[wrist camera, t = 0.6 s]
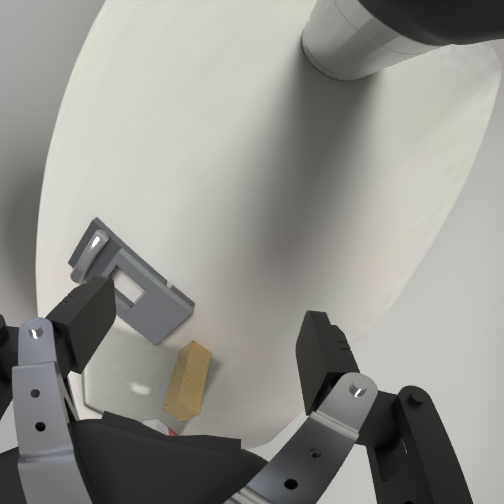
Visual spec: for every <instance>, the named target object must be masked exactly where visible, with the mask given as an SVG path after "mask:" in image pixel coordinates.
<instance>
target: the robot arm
mask: <svg viewBox="0 0 504 504" xmlns="http://www.w3.org/2000/svg"><path fill="white" fill-rule="evenodd" d="M495 39H504V0H317V2H316V4H315V6H314V9H313V11H312V13H311V15H310V17H309V19H308V21H307V23H306V26H305V28H304V30H303V34H302V46H303V49H304V52H305V54H306V56H307V58H308V60H309V61H310V62H311V63H312V64H313V66H314V67H316V68H317V69H318V70H319V71H321V72H322V73H324V74H326V75H327V76H329V77H332V78H335V79H339V80H345V81H347V80H357V79H361V78H363V77H365V76H368V75H370V74H372V73H375V72H377V71H380V70H382V69H384V68H387V67H389V66H392V65H394V64H397V63H399V62H402V61H404V60H407V59H410V58H412V57H415V56H418V55H420V54H423V53H426V52H428V51H431V50H434V49H437V48H440V47H443V46H446V45H449V44H456V45H466V44H474V43H479V42H484V41H489V40H495ZM115 317H116V302H115V289H114V281H113V279H112V278H109V277H104V276H99V275H95V276H94V277H93V278H92V279H91V280H90V281H89V282H88V283H87V284H82V285H80V286H78V287H76V288H74V289H73V290H72V291H71V292H70V293H69V294H68V296H66V297H65V298H64V299H63V300H62V302H60V303H59V304H58V305H57V306H56V307H55V308H54V309H53V310H52V311H51V312H50V313H49V314H48V315H47V316H46V317H45V318H41V317H37V318H32V319H29V320H27V321H25V322H24V323H23V324H22V325H21V326H20V328H19V327H10V326H6V323H5V320H4V318H3V316H2V315H1V314H0V420H1V418H2V416H3V414H4V413H5V411H6V409H7V407H8V406H9V404H10V402H11V401H12V399H13V406H14V417H15V425H16V433H17V440H18V447H16V448H13V449H11V450H8V451H6V452H3V453H1V454H0V504H316V503H317V501H318V500H319V499H320V497H321V496H322V494H323V493H324V491H325V490H326V489H327V487H328V486H329V484H330V483H331V481H332V480H333V478H334V477H335V475H336V473H337V472H338V470H339V469H340V467H341V466H342V464H343V462H344V461H345V459H346V457H347V456H348V454H349V452H350V451H351V449H352V447H353V445H354V444H359V445H364V446H366V449H367V454H368V458H369V463H370V468H371V473H372V478H373V483H374V489H375V494H376V500H377V504H473V501H472V498H471V495H470V492H469V490H468V486H467V483H466V481H465V478H464V475H463V472H462V470H461V467H460V464H459V462H458V459H457V457H456V454H455V452H454V449H453V447H452V444H451V442H450V439H449V437H448V435H447V432H446V430H445V428H444V426H443V423H442V421H441V419H440V417H439V414H438V412H437V410H436V408H435V406H434V404H433V402H432V399H431V398H430V396H429V395H428V393H426V391H424V390H423V389H421V388H419V387H416V386H405V387H403V388H402V389H401V390H400V392H399V393H398V395H396V394H391V393H387V392H382V391H379V390H377V386H376V384H375V383H374V381H373V380H372V379H370V378H369V377H367V376H366V375H363V374H360V371H359V369H358V366H357V364H356V361H355V359H354V356H353V354H352V351H350V346H349V344H348V343H347V339H346V337H345V334H344V333H343V332H342V331H341V330H340V329H339V328H338V327H337V326H336V325H331V324H330V321H329V319H328V316H327V314H326V312H318V311H309V310H308V311H307V312H306V314H305V317H304V320H303V323H302V326H301V330H300V333H299V336H298V339H297V343H296V359H297V364H298V370H299V376H300V382H301V388H302V394H303V400H304V406H305V412H306V416H308V415H309V417H308V418H307V420H306V421H305V422H304V423H303V425H302V426H301V427H300V428H299V429H298V431H297V432H296V433H295V434H294V435H293V436H292V437H291V439H290V440H289V441H288V442H287V443H286V444H285V445H284V447H283V448H282V449H281V450H280V451H279V452H278V453H277V454H276V455H275V456H274V458H273V459H272V460H271V461H270V462H268V461H266V460H265V459H263V458H262V457H260V456H258V455H256V454H254V453H252V452H249V451H247V450H244V449H241V439H233V438H225V437H217V436H210V435H192V436H169V435H165V434H163V433H161V432H159V431H157V430H154V429H152V428H150V427H148V426H146V425H144V424H142V423H140V422H138V421H136V420H134V419H130V418H126V417H123V416H120V415H116V414H113V413H110V412H107V411H104V414H103V416H102V418H101V419H85V420H80V419H79V416H78V413H77V409H76V406H75V402H74V398H73V394H72V390H71V386H70V381H69V378H68V374H69V372H70V371H73V372H76V373H79V374H81V373H82V372H83V370H84V368H85V367H86V365H87V363H88V362H89V360H90V359H91V357H92V355H93V354H94V352H95V351H96V349H97V348H98V346H99V345H100V343H101V341H102V340H103V338H104V337H105V335H106V334H107V332H108V331H109V329H110V328H111V326H112V325H113V323H114V321H115ZM403 442H404V443H403ZM404 445H405V446H404ZM405 448H406V449H405ZM406 451H407V452H406Z"/></svg>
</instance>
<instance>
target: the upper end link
mask: <svg viewBox="0 0 504 504" xmlns="http://www.w3.org/2000/svg"><path fill="white" fill-rule="evenodd" d="M116 265H117V266H118V267H120V268H121V269H122V270H123V271H124V272H125V273H126V274H127V275H129V276H130V277H131V278H132V279H133V280H134V281H135V282H137V283H138V284H139V285H140V286H141V287H143V288H144V289H145V290H146V292H145V293H144V294H143V295H142V296H141V297H140V298H139V299H138V301H137V302H136V303H135V304H134V305H133V306H132V307H131V308H130V307H129V306H128V305H127V304H125V303H124V302H123V301H122V300H121V299H119V298H118V297H117V296H116V295H115V302H116V314H117V315H118V316H119V317H120V318H122V319H123V320H124V321H125V322H126V323H128V324H129V325H130V326H132V327H133V328H134V329H135V330H137V331H138V332H139V333H140V334H142V335H143V336H144V337H146V338H147V339H148V340H150V341H151V342H152V343H154V344H155V345H156V344H157V343H159V342H160V341H161V340H162V339H163V338H164V337H165V336H167V335H168V334H169V333H170V332H171V331H172V330H173V329H174V328H176V327H177V326H178V325H179V324H180V323H181V322H182V321H183V320H185V319H186V318H187V317H188V316H189V315H190V314H191V313H192V310H193V307H194V304H195V303H194V302H192V301H191V300H190V299H189V298H188V297H186V296H185V295H184V294H183V293H181V292H180V291H179V290H178V289H177V288H175V287H174V286H173V285H172V286H171V287H170V288H168V287H166V286H165V285H164V284H163V283H162V282H160V281H159V280H158V279H157V278H156V277H155V276H153V275H152V274H151V273H150V272H149V271H148V270H146V269H145V268H144V267H143V266H142V265H141V264H140V263H138V262H137V261H136V260H135V259H134V258H133V257H132V256H131V255H129V254H128V253H127V252H126V251H125V250H124V249H123V248H121V249H120V250H119V251H118V252H117V254H116V255H115V256H114V258H113V259H112V261H111V262H110V263H109V265H108V266H107V268H106V269H105V271H104V272H103V273H102V275H101V276H104V277H108V276H109V275H110V273H111V272H112V270H113V269H114V268H115V266H116Z"/></svg>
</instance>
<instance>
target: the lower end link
mask: <svg viewBox="0 0 504 504" xmlns="http://www.w3.org/2000/svg"><path fill="white" fill-rule="evenodd" d="M121 248H123V249H124V250H125V251H126V252H127V253H128V254H129V255H131V256H132V257H133V258H134V259H135V260H136V261H137V262H138V263H140V264H141V265H142V266H143V267H144V268H145V269H146V270H148V271H149V272H150V273H151V274H152V275H153V276H155V277H156V278H157V279H158V280H159V281H160V282H162V283H163V284H164V285H165V283H166V282H167V280H166V279H165V278H164V277H162V276H161V275H160V274H159V273H158V272H157V271H155V270H154V269H153V268H152V267H151V266H150V265H148V264H147V263H146V262H145V261H144V260H143V259H142V258H141V257H139V256H138V255H137V254H136V253H135V252H134V251H133V250H132V249H130V248H129V247H128V246H127V245H126V244H125V243H124V242H123V241H122V240H121V239H120V238H118V237H117V236H116V235H115V234H114V233H113V232H112V231H111V230H110V229H109V228H108V227H107V226H106V225H105V224H104V223H103V222H102V221H100V220H99V219H98V218H95V219H94V220H92V222H91V224H90V225H89V227H88V229H87V230H86V232H85V234H84V235H83V237H82V239H81V240H80V242H79V244H78V246H77V247H76V249H75V251H74V253H73V255H72V256H71V258H70V260H69V262H68V263H69V264H70V265H71V266H72V267H73V268H74V269H73V271H72V272H71V274H70V277H71V279H72V280H73V281H74V282H76V283H80V282H81V281H82V280H83V278H84V279H85V280H86V281H87V282H89V281H90V280H91V279H92V278H93V277H94V276H95V275H99V276H101V275H102V273H103V272H104V271H105V269H106V268H107V266H108V265H109V263H110V262H111V261H112V259H113V258H114V256H115V255H116V254H117V252H118V251H119V250H120V249H121ZM116 266H117V265H116ZM116 266H115V267H116ZM114 269H115V268H114ZM114 269H113V270H114ZM113 270H112V271H113ZM111 273H112V272H111ZM111 273H110V274H111ZM109 276H110V275H109ZM109 276H108V277H109ZM114 289H115V295H116V296H117V297H118V298H119V299H121V300H122V301H123V302H124V303H125V304H127V305H128V306H129V307H130V308H131V307H132V306H133V305H134V304H135V303H136V302H137V301H138V299H139V298H140V297H141V296H142V295H143V294H144V293H145V292H146V290H145V291H144V292H143V294H142V295H141V296H140V297H139V298H138V299H137V300H136V301H135V303H133V302H131V301H130V300H129V299H128V298H127V297H125V296H124V295H123V294H122V293H121V292H120V291H118V290H117V289H116V288H115V287H114Z"/></svg>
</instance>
